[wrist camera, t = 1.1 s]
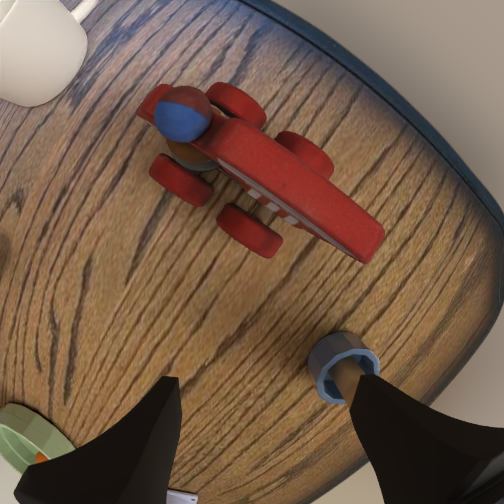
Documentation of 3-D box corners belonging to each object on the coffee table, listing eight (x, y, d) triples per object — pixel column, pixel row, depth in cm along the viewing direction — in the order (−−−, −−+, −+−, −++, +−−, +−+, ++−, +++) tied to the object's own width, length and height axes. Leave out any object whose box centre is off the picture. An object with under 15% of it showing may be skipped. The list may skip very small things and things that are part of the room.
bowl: (89, 482, 23) (80, 505, 19) (16, 446, 22) (4, 465, 17) (76, 427, 21) (61, 455, 17) (-6, 385, 20) (-25, 404, 16)
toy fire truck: (195, 82, 17) (171, -11, 7) (339, 186, 19) (435, 179, 9) (134, 161, 18) (50, 131, 8) (281, 266, 20) (332, 331, 10)
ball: (64, 465, 22) (56, 482, 19) (43, 455, 22) (35, 471, 18) (60, 451, 21) (51, 469, 18) (38, 441, 21) (28, 457, 18)
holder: (351, 384, 22) (363, 404, 20) (299, 380, 22) (307, 402, 19) (372, 334, 22) (389, 351, 19) (318, 327, 21) (331, 345, 18)
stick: (343, 369, 22) (391, 442, 13) (326, 368, 21) (369, 445, 13) (350, 353, 21) (403, 423, 13) (332, 351, 21) (382, 425, 12)
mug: (99, -13, 14) (59, -77, 4) (145, 21, 16) (107, -63, 6) (5, 80, 15) (-65, 49, 5) (36, 128, 16) (-53, 102, 6)
